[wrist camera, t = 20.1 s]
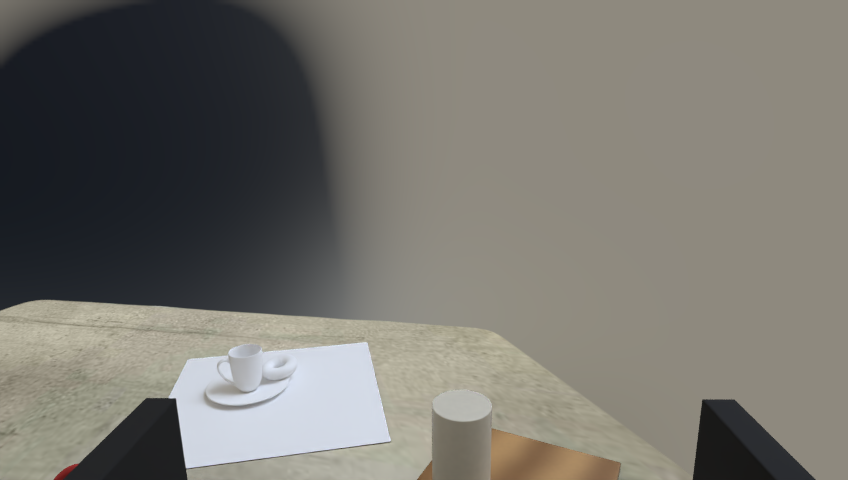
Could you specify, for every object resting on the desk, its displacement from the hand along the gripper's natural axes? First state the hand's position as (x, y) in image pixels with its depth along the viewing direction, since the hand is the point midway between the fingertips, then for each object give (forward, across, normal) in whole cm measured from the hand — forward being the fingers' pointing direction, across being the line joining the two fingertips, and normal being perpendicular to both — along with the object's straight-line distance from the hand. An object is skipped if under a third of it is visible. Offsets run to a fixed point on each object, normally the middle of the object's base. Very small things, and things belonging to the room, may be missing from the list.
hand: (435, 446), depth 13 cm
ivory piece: (+20, +1, -18) cm, 27 cm away
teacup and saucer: (+34, -16, -19) cm, 42 cm away
